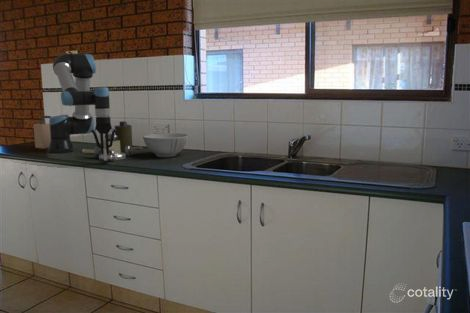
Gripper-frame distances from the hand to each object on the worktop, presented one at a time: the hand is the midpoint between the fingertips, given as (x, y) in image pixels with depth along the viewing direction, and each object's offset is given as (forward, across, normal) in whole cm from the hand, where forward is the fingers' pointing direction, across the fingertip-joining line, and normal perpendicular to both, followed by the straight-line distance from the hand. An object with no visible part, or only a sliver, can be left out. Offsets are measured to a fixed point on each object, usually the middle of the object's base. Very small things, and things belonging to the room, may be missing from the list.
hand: (105, 160), depth 230 cm
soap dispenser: (+2, -44, +77) cm, 89 cm away
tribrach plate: (+2, +3, +17) cm, 17 cm away
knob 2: (+2, +15, +24) cm, 29 cm away
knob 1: (+2, +3, +3) cm, 4 cm away
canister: (+2, +9, +33) cm, 34 cm away
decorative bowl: (+2, +34, +18) cm, 38 cm away
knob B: (+2, -10, +24) cm, 26 cm away
